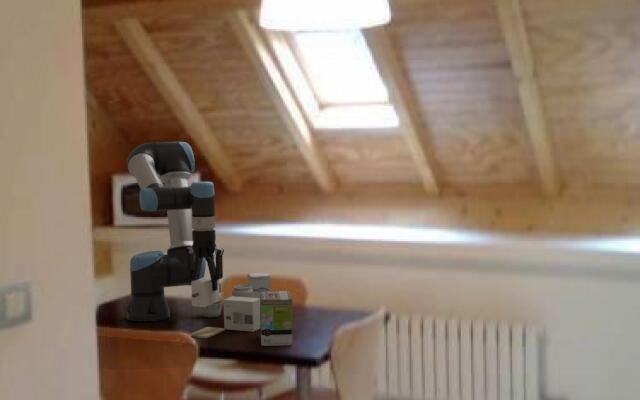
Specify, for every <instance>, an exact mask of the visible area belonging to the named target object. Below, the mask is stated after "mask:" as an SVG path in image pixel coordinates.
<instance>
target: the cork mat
mask: <svg viewBox="0 0 640 400" xmlns="http://www.w3.org/2000/svg"><path fill="white" fill-rule="evenodd" d="M223 331H226V329H225V328H224V327H223V328H222V327H214V326H213V327H211V326H205V327H203V328H201V329H199V330H197V331H194V332H191V333H189V334H190V335H192V336H193V337H192V338H198V339H208V338H212V337H213V336H216V335H218V334H220V333H222V332H223Z"/></svg>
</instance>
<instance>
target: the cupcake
mask: <svg viewBox="0 0 640 400" xmlns="http://www.w3.org/2000/svg"><path fill="white" fill-rule="evenodd" d="M223 307H224V300H223V299H222V297H221V296H220V295H219V302H216V303H213V304H211V305H208V306H206V307H199V308H200V313H201V315H202V317H204V318H207V317H208V318H209V319H211V318H217V317H220V315H221V313H222V309H223Z"/></svg>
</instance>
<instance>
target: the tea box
mask: <svg viewBox="0 0 640 400" xmlns="http://www.w3.org/2000/svg"><path fill="white" fill-rule="evenodd" d="M259 330H260V345H261V346H262V347H264V346H265V347H275V346H277V347H278V346H292V345H293V299H292V295H291V291H289V290H275V291H274V290H272V291H271V290H270V291H265V292H260V329H259Z"/></svg>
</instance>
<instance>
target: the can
mask: <svg viewBox="0 0 640 400" xmlns="http://www.w3.org/2000/svg"><path fill="white" fill-rule="evenodd" d="M251 287H252V286H250V285H248V284H240V285H235V286H234V287H233V289H232V291H231V297H232V296H234V297H248V298H254V291H253V290H252V288H251Z"/></svg>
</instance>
